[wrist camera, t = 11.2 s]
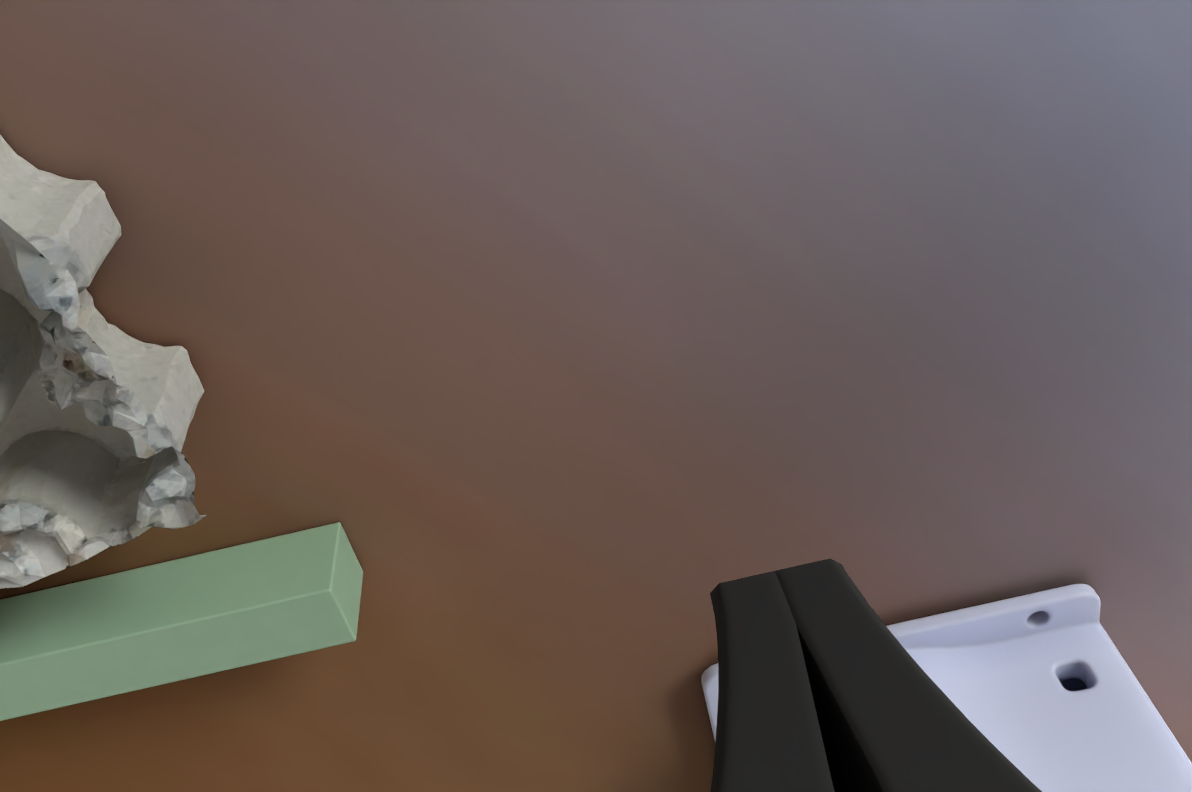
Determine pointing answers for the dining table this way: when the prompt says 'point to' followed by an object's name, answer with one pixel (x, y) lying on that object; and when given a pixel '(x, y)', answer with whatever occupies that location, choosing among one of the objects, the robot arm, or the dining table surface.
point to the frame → (178, 620)
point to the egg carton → (78, 389)
